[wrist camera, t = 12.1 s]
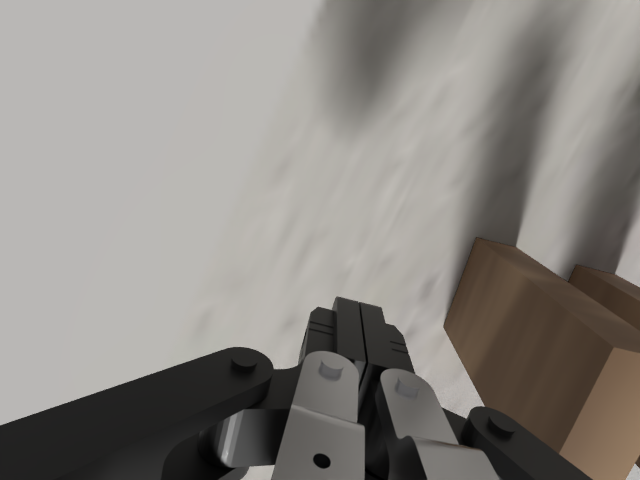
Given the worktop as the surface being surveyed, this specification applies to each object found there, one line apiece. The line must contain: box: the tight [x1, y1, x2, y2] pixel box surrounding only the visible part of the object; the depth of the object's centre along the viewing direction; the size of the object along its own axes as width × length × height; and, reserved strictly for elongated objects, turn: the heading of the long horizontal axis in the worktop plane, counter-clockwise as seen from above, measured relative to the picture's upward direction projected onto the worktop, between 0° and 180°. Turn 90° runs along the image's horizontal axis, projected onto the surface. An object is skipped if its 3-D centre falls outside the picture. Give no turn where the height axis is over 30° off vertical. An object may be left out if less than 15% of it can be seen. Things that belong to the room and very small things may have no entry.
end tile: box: [444, 237, 640, 480], centre depth 15 cm, size 2×5×10 cm, turn 166°
